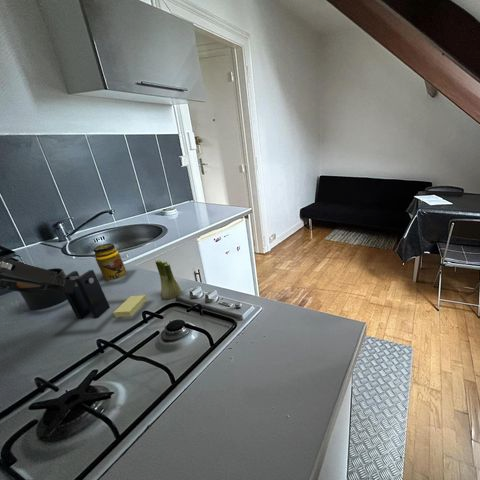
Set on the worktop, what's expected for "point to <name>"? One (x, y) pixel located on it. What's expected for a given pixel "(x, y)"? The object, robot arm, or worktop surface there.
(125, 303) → the butter
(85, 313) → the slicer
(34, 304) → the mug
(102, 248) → the condiment
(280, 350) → the worktop surface
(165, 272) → the fennel bulb
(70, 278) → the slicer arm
